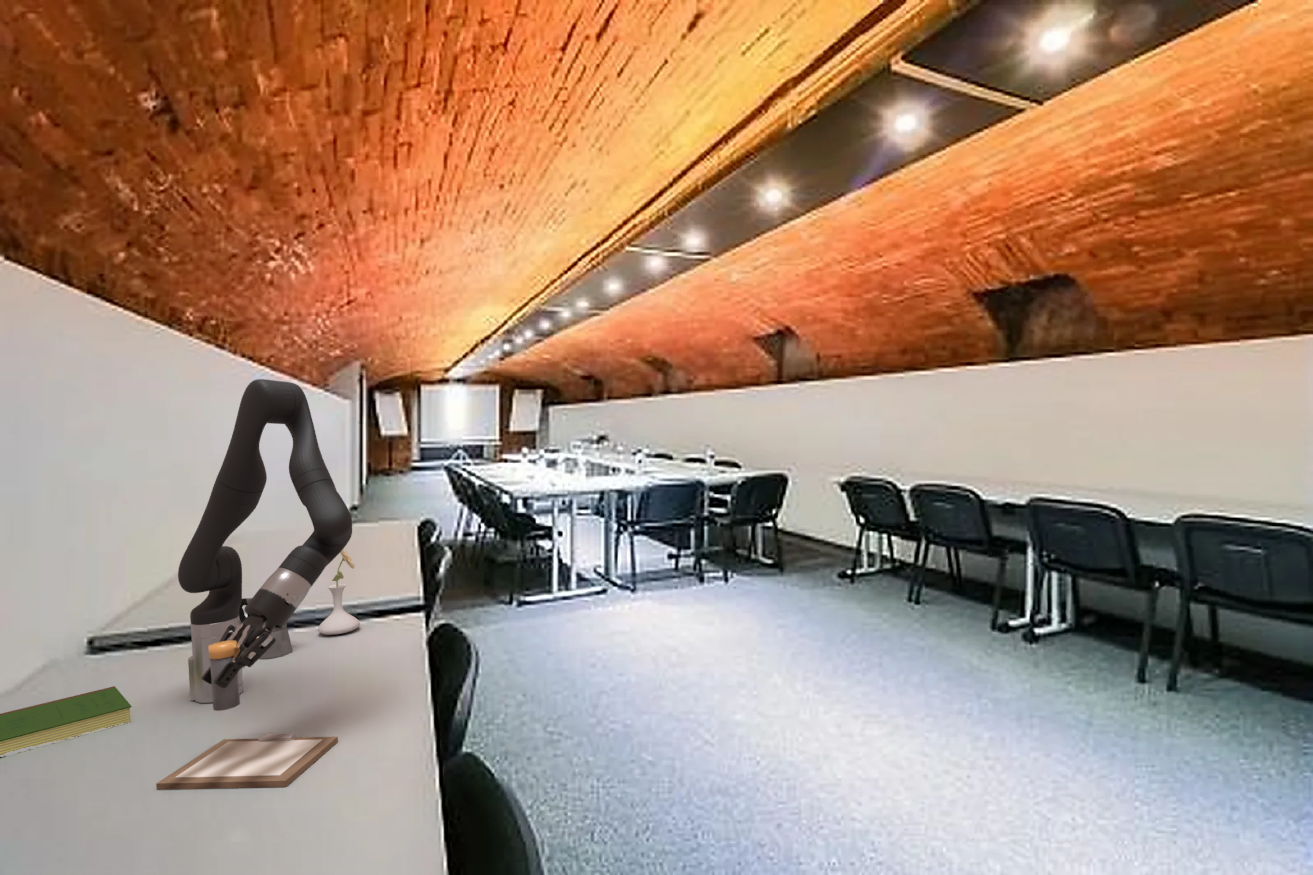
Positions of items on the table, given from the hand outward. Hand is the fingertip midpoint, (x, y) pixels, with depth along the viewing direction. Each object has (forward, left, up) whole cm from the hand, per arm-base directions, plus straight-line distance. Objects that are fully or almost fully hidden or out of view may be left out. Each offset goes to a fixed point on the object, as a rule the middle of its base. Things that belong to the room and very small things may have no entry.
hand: (213, 683), depth 118 cm
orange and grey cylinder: (+1, +2, -5) cm, 5 cm away
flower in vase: (-22, +83, -15) cm, 87 cm away
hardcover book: (-48, +17, -15) cm, 53 cm away
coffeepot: (-31, +63, -15) cm, 72 cm away
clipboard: (+6, +1, -15) cm, 16 cm away
